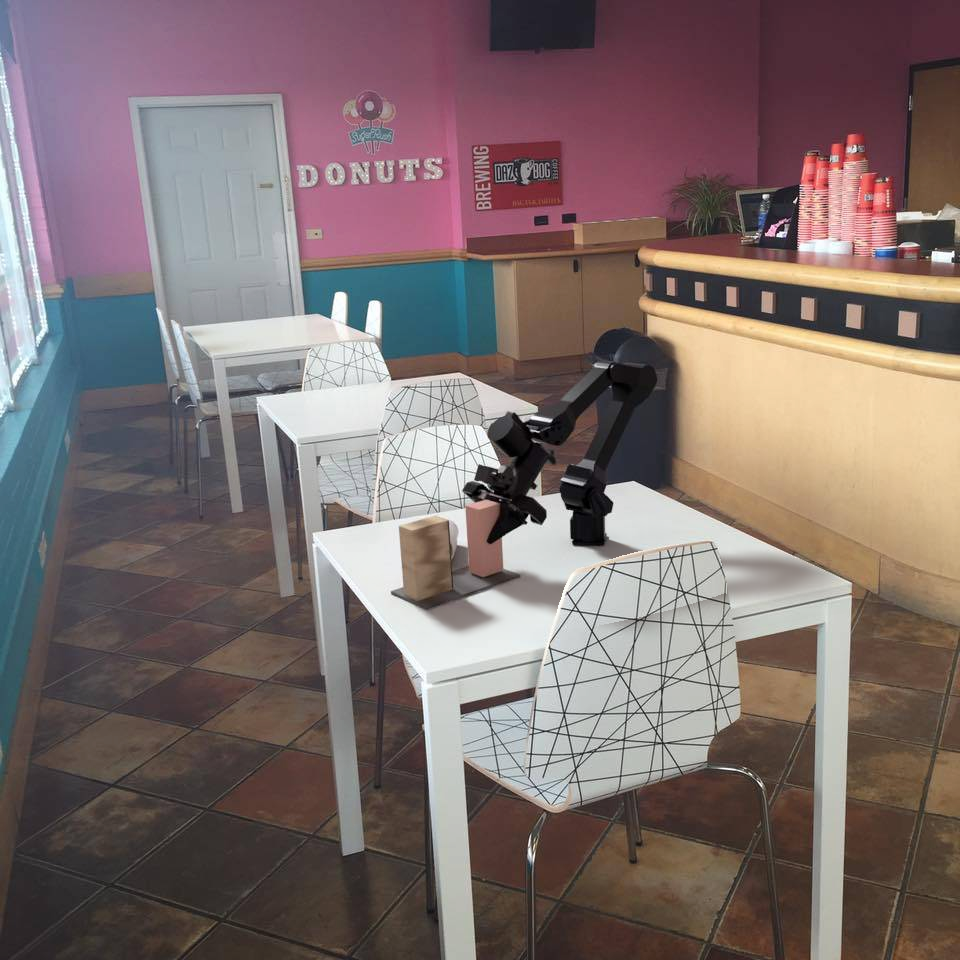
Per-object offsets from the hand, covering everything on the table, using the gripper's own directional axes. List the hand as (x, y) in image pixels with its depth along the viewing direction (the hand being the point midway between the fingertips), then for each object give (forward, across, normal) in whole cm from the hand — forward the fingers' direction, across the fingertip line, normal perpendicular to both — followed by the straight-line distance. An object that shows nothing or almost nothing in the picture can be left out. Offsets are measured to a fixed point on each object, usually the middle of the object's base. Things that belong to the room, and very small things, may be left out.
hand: (480, 540), depth 190 cm
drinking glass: (-2, -21, +8) cm, 22 cm away
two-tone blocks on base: (+9, 0, +1) cm, 9 cm away
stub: (+4, 0, +6) cm, 7 cm away
